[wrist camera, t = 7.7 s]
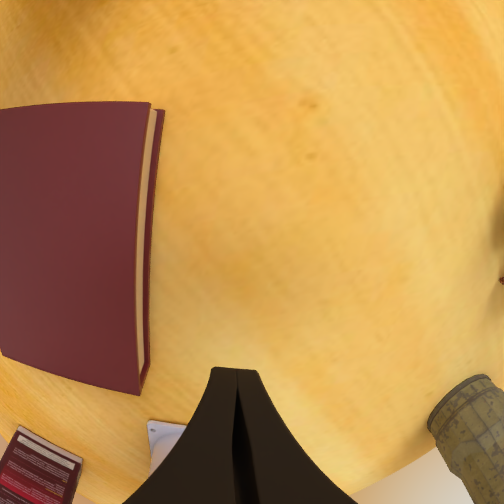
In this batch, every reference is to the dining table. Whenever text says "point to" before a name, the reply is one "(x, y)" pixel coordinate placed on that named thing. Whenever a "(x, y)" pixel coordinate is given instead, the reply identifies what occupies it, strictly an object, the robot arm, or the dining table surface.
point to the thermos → (473, 437)
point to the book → (78, 238)
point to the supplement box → (37, 471)
